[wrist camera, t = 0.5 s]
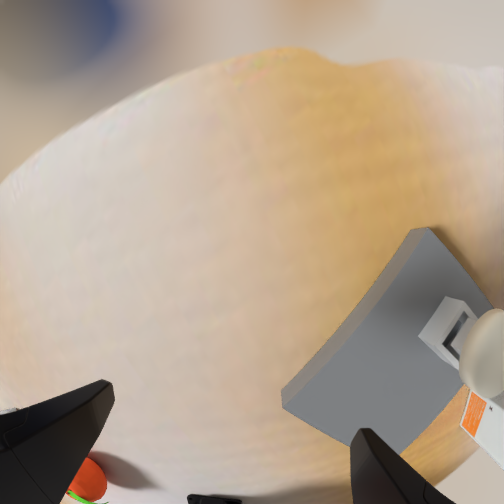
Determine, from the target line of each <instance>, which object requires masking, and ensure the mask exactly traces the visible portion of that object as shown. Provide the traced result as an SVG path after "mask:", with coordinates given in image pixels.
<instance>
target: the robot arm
mask: <svg viewBox="0 0 504 504" xmlns="http://www.w3.org/2000/svg"><path fill="white" fill-rule="evenodd" d="M114 401H115V397H114V391H113V385H112V383H111V382H109V381H106V380H103V379H101V380H98V381H96V382H93V383H91V384H88V385H86V386H83V387H81V388H78V389H76V390H73V391H70V392H68V393H65V394H62V395H60V396H57V397H54V398H52V399H49V400H46V401H43V402H41V403H38V404H35V405H32V406H29V407H26V408H23V409H20V410H17V411H13V412H10V413H6V414H1V415H0V504H60V502H61V500H62V498H63V497H64V495H65V493H66V491H67V489H68V488H69V486H70V484H71V482H72V481H73V479H74V477H75V476H76V474H77V472H78V470H79V469H80V467H81V465H82V464H83V462H84V460H85V458H86V457H87V455H88V453H89V452H90V450H91V448H92V447H93V445H94V443H95V442H96V440H97V438H98V437H99V435H100V433H101V431H102V429H103V427H104V425H105V422H106V420H107V418H108V416H109V413H110V411H111V409H112V407H113V404H114ZM350 465H351V487H352V495H353V503H354V504H456V503H454V502H453V501H451V500H450V499H448V498H447V497H446V496H444V495H443V494H442V493H440V492H439V491H438V490H437V489H436V488H434V487H433V486H432V485H431V484H430V483H429V482H428V481H426V480H425V479H424V478H423V477H422V476H421V475H420V474H419V473H418V472H416V471H415V470H414V469H413V468H412V467H411V466H410V465H409V464H408V463H407V462H406V461H405V460H404V459H402V458H401V457H400V456H399V455H398V454H397V453H396V452H395V451H394V450H393V449H392V448H391V447H390V446H389V445H388V444H387V443H386V442H385V441H384V440H382V439H381V438H380V437H379V436H378V435H377V434H376V433H375V432H374V431H373V430H372V429H371V428H360V429H359V430H358V431H357V433H356V434H355V436H354V438H353V440H352V441H351V444H350ZM187 500H188V503H189V504H242V501H241V500H238V499H223V498H212V497H203V496H196V495H188V497H187Z"/></svg>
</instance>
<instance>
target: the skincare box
mask: <svg viewBox="0 0 504 504" xmlns="http://www.w3.org/2000/svg"><path fill="white" fill-rule="evenodd" d="M460 426H461V427H462V428H463V429H464V430H465V431H466V432H467V433H468V434H469V435H470V436H471V437H472V438H473V440H475V442H477V444H478V445H479V446H480V447H481V448H482V449H483V450H484V451H485V452H486V453H487V454H488V455H489V456H490V457H491V458H492V459H493V460H494V461H495V462H496V463H497V464H498V465H499V466H500V467H501V468H502V469H503V470H504V391H503V392H501V393H500V394H498V395H497V396H495V397H492V398H483V397H481V396H480V395H479V394H477V393H476V392H474V391H473V390H472V389H470V393H469V397H468V400H467V404H466V407H465V410H464V413H463V416H462V419H461V422H460Z"/></svg>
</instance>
